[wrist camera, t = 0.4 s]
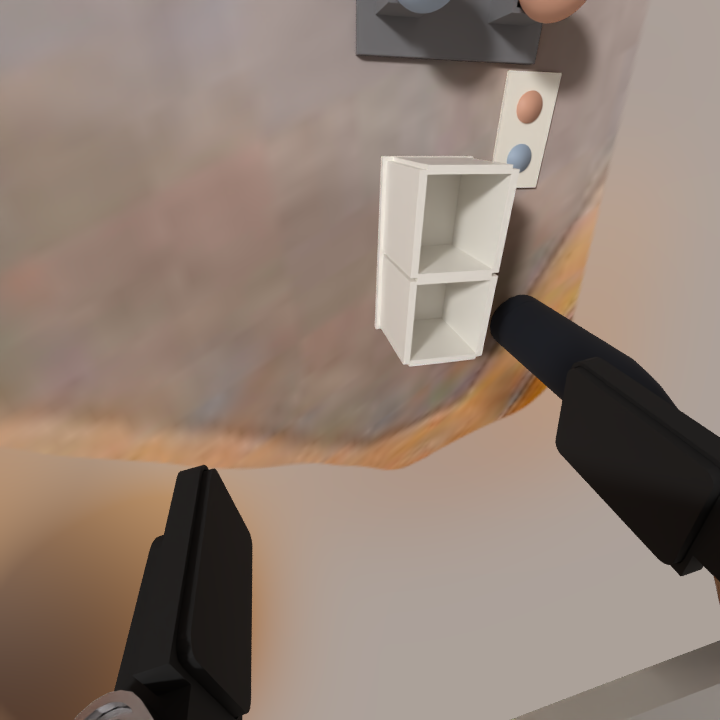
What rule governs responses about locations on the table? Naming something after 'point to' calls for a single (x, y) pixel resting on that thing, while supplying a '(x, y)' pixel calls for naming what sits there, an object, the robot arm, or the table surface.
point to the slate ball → (423, 5)
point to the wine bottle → (557, 344)
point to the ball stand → (448, 31)
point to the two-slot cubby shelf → (440, 253)
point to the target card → (526, 122)
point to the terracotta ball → (550, 9)
